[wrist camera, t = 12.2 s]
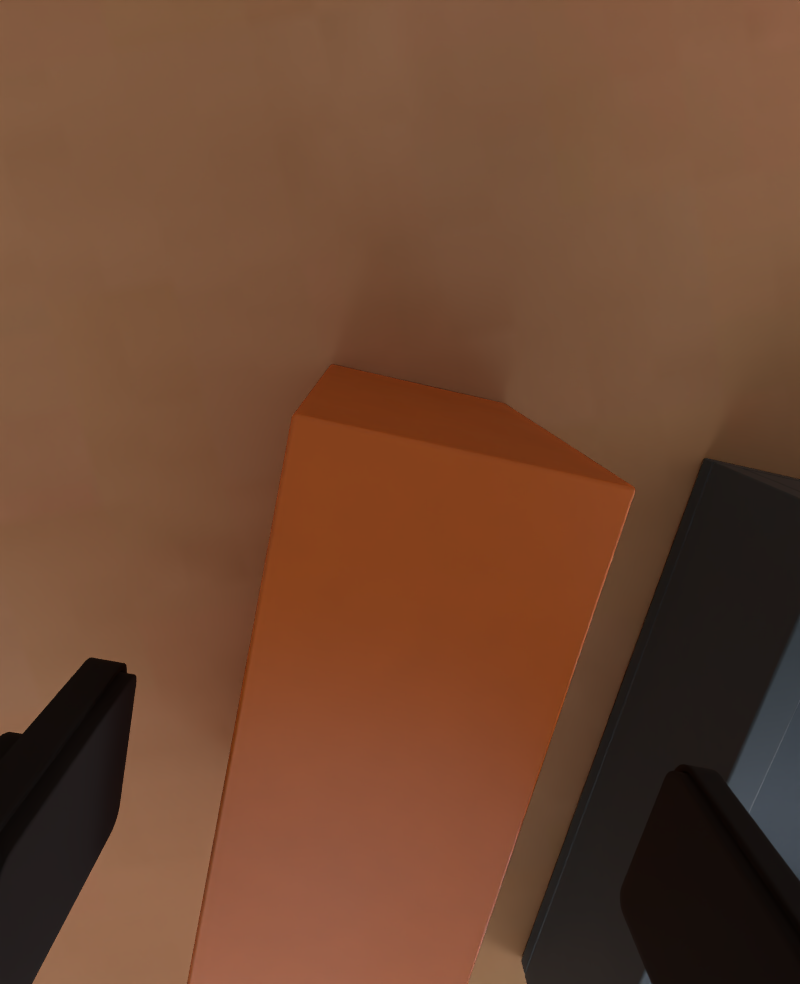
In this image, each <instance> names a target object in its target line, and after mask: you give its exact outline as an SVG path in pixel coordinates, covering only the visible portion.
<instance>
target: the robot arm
mask: <svg viewBox="0 0 800 984" xmlns="http://www.w3.org/2000/svg"><path fill="white" fill-rule="evenodd" d="M135 688H136V675H134V674H128V673H127V667H126V664H125V663H119V662H114V661H108V660H103V659H97V658H89V659H87V660H86V661H85V662H84V664H83V665H82V666H81V667H80V668H79V669H78V670H77V672H76V673H75V674H74V675H73V676H72V677H71V679H70V680H69V681H68V682H67V683H66V684H65V686H64V687H63V688H62V689H61V690H60V691H59V692H58V694H57V695H56V696H55V697H54V698H53V699H52V701H51V702H50V703H49V704H48V705H47V706H46V708H45V709H44V710H43V711H42V712H41V713H40V714H39V716H38V717H37V718H36V719H35V720H34V721H33V723H32V724H31V725H30V726H29V727H28V728H27V730H26V731H25V732H24V733H23V734H19V733H13V732H7V733H5V734H2V735H1V736H0V984H32V983H33V981H34V979H35V977H36V975H37V973H38V971H39V969H40V967H41V965H42V963H43V962H44V960H45V958H46V956H47V954H48V952H49V950H50V948H51V946H52V944H53V942H54V941H55V939H56V937H57V935H58V933H59V931H60V929H61V927H62V925H63V923H64V922H65V920H66V918H67V916H68V914H69V912H70V910H71V908H72V906H73V904H74V902H75V901H76V899H77V897H78V895H79V893H80V891H81V889H82V887H83V885H84V883H85V881H86V880H87V878H88V876H89V874H90V872H91V870H92V868H93V866H94V864H95V862H96V860H97V859H98V857H99V855H100V853H101V851H102V849H103V847H104V845H105V843H106V841H107V839H108V838H109V836H110V834H111V832H112V829H113V827H114V824H115V822H116V818H117V815H118V811H119V806H120V799H121V792H122V784H123V777H124V770H125V762H126V755H127V747H128V740H129V733H130V725H131V718H132V710H133V703H134V696H135ZM620 905H621V910H622V913H623V916H624V918H625V921H626V923H627V926H628V928H629V930H630V933H631V935H632V938H633V940H634V943H635V945H636V947H637V950H638V952H639V955H640V957H641V960H642V962H643V964H644V967H645V969H646V972H647V974H648V977H649V979H650V982H651V984H800V881H799V879H798V878H797V877H796V875H795V874H794V873H793V871H792V870H791V869H790V867H789V866H788V865H787V863H786V862H785V861H784V859H783V858H782V857H781V855H780V854H779V853H778V851H777V850H776V849H775V847H774V846H773V845H772V843H771V842H770V841H769V839H768V838H767V837H766V835H765V834H764V833H763V831H762V830H761V829H760V827H759V826H758V825H757V823H756V822H755V821H754V819H753V818H752V817H751V815H750V814H749V813H748V811H747V810H746V809H745V807H744V806H743V805H742V803H741V802H740V801H739V799H738V798H737V797H736V795H735V794H734V793H733V791H732V790H731V789H730V787H729V786H728V785H727V783H726V782H725V781H724V779H723V778H722V777H721V775H720V774H719V773H718V772H717V771H715V770H713V769H708V768H703V767H697V766H692V765H686V764H681V765H679V766H678V767H676V769H675V770H674V771H669V772H668V773H667V774H666V776H665V778H664V781H663V783H662V786H661V788H660V791H659V793H658V796H657V798H656V801H655V803H654V806H653V808H652V811H651V813H650V816H649V818H648V821H647V823H646V826H645V828H644V831H643V833H642V836H641V838H640V841H639V843H638V846H637V848H636V851H635V853H634V856H633V858H632V861H631V864H630V866H629V869H628V871H627V874H626V876H625V879H624V881H623V884H622V886H621V890H620Z"/></svg>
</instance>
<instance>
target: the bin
mask: <svg viewBox="0 0 800 984" xmlns="http://www.w3.org/2000/svg"><path fill="white" fill-rule="evenodd" d="M681 764H686V765H692V766H697V767H703V768H708V769H713V770H715V771H717V772H718V773H719V774H720V775H721V777H722V778H723V779H724V781H725V782H726V783H727V785H728V786H729V787H730V789H731V790H732V791H733V793H734V794H735V795H736V797H737V798H738V799H739V801H740V802H741V803H742V805H743V806H744V807H745V809H746V810H747V811H748V813H749V814H750V815H751V817H752V818H753V819H754V821H755V822H756V823H757V825H758V826H759V827H760V829H761V830H762V831H763V833H764V834H765V835H766V837H767V838H768V839H769V841H770V842H771V843H772V845H773V846H774V847H775V849H776V850H777V851H778V853H779V854H780V855H781V857H782V858H783V859H784V861H785V862H786V863H787V865H788V866H789V867H790V869H791V870H792V871H793V873H794V874H795V875H796V877H797V878H798V879H799V881H800V479H796V478H792V477H788V476H783V475H779V474H774V473H770V472H765V471H761V470H757V469H752V468H748V467H743V466H739V465H734V464H730V463H726V462H721V461H717V460H712V459H708V458H706V459H704V460H703V463H702V466H701V469H700V471H699V474H698V477H697V479H696V482H695V485H694V488H693V490H692V493H691V496H690V499H689V501H688V504H687V507H686V510H685V512H684V515H683V518H682V521H681V523H680V526H679V529H678V532H677V534H676V537H675V540H674V543H673V545H672V548H671V551H670V554H669V556H668V559H667V562H666V565H665V567H664V570H663V573H662V575H661V578H660V581H659V584H658V586H657V589H656V592H655V595H654V597H653V600H652V603H651V606H650V608H649V611H648V614H647V617H646V619H645V622H644V625H643V628H642V630H641V633H640V636H639V639H638V641H637V644H636V647H635V650H634V652H633V655H632V658H631V661H630V663H629V666H628V669H627V671H626V674H625V677H624V680H623V682H622V685H621V688H620V691H619V693H618V696H617V699H616V702H615V704H614V707H613V710H612V713H611V715H610V718H609V721H608V724H607V726H606V729H605V732H604V735H603V737H602V740H601V743H600V746H599V748H598V751H597V754H596V757H595V759H594V762H593V765H592V767H591V770H590V773H589V776H588V778H587V781H586V784H585V787H584V789H583V792H582V795H581V798H580V800H579V803H578V806H577V809H576V811H575V814H574V817H573V820H572V822H571V825H570V828H569V831H568V833H567V836H566V839H565V842H564V844H563V847H562V850H561V853H560V855H559V858H558V861H557V863H556V866H555V869H554V872H553V874H552V877H551V880H550V883H549V885H548V888H547V891H546V894H545V896H544V899H543V902H542V905H541V907H540V910H539V913H538V916H537V918H536V921H535V924H534V927H533V929H532V932H531V935H530V938H529V940H528V943H527V946H526V949H525V951H524V954H523V957H522V965H523V969H524V973H525V978H526V982H527V984H651V982H650V979H649V977H648V974H647V972H646V969H645V967H644V964H643V962H642V960H641V957H640V955H639V952H638V950H637V947H636V945H635V943H634V940H633V938H632V935H631V933H630V930H629V928H628V926H627V923H626V921H625V918H624V916H623V913H622V910H621V905H620V890H621V886H622V884H623V881H624V879H625V876H626V874H627V871H628V869H629V866H630V864H631V861H632V858H633V856H634V853H635V851H636V848H637V846H638V843H639V841H640V838H641V836H642V833H643V831H644V828H645V826H646V823H647V821H648V818H649V816H650V813H651V811H652V808H653V806H654V803H655V801H656V798H657V796H658V793H659V791H660V788H661V786H662V783H663V781H664V778H665V776H666V774H667V773H668V772H669V771H674V770H675V769H676V767H678V766H679V765H681Z"/></svg>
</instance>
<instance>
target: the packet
mask: <svg viewBox="0 0 800 984" xmlns="http://www.w3.org/2000/svg"><path fill="white" fill-rule="evenodd" d="M634 494H635V488H634V487H633V486H632V485H630V484H629V483H627V482H625V481H624V480H622V479H621V478H619V477H618V476H616V475H615V474H613V473H612V472H610V471H608V470H607V469H605V468H604V467H602V466H601V465H599V464H598V463H596V462H595V461H593V460H591V459H590V458H588V457H587V456H585V455H584V454H582V453H581V452H579V451H578V450H576V449H574V448H573V447H571V446H570V445H568V444H567V443H565V442H564V441H562V440H560V439H559V438H557V437H556V436H554V435H553V434H551V433H550V432H548V431H547V430H545V429H543V428H542V427H540V426H539V425H537V424H536V423H534V422H533V421H531V420H530V419H528V418H526V417H525V416H523V415H522V414H520V413H519V412H517V411H516V410H514V409H513V408H511V407H509V406H508V405H506V404H505V403H501V402H497V401H492V400H488V399H484V398H479V397H475V396H470V395H466V394H462V393H457V392H453V391H448V390H444V389H440V388H435V387H431V386H426V385H422V384H418V383H413V382H409V381H404V380H400V379H396V378H391V377H387V376H383V375H378V374H374V373H369V372H365V371H361V370H356V369H352V368H347V367H343V366H339V365H334V364H331V365H330V366H329V368H328V369H327V370H326V372H325V373H324V374H323V376H322V377H321V378H320V380H319V381H318V382H317V384H316V385H315V386H314V388H313V389H312V390H311V392H310V393H309V394H308V396H307V397H306V398H305V400H304V401H303V402H302V404H301V405H300V406H299V408H298V409H297V410H296V412H295V413H294V414H293V416H292V418H291V424H290V429H289V434H288V440H287V445H286V451H285V456H284V462H283V467H282V472H281V478H280V483H279V489H278V494H277V500H276V505H275V510H274V516H273V521H272V527H271V532H270V537H269V543H268V548H267V554H266V559H265V565H264V570H263V575H262V581H261V586H260V592H259V597H258V602H257V608H256V613H255V619H254V624H253V630H252V635H251V640H250V646H249V651H248V657H247V662H246V667H245V673H244V678H243V684H242V689H241V695H240V700H239V705H238V711H237V716H236V722H235V727H234V733H233V738H232V743H231V749H230V754H229V760H228V765H227V770H226V776H225V781H224V787H223V792H222V798H221V803H220V808H219V814H218V819H217V825H216V830H215V835H214V841H213V846H212V852H211V857H210V863H209V868H208V873H207V879H206V884H205V890H204V895H203V901H202V906H201V911H200V917H199V922H198V928H197V933H196V938H195V944H194V949H193V955H192V960H191V966H190V971H189V976H188V982H187V984H468V982H469V979H470V976H471V973H472V970H473V967H474V965H475V962H476V959H477V956H478V953H479V950H480V947H481V944H482V941H483V938H484V935H485V932H486V929H487V926H488V923H489V920H490V918H491V915H492V912H493V909H494V906H495V903H496V900H497V897H498V894H499V891H500V888H501V885H502V882H503V879H504V876H505V873H506V870H507V868H508V865H509V862H510V859H511V856H512V853H513V850H514V847H515V844H516V841H517V838H518V835H519V832H520V829H521V826H522V823H523V821H524V818H525V815H526V812H527V809H528V806H529V803H530V800H531V797H532V794H533V791H534V788H535V785H536V782H537V779H538V776H539V774H540V771H541V768H542V765H543V762H544V759H545V756H546V753H547V750H548V747H549V744H550V741H551V738H552V735H553V732H554V729H555V726H556V724H557V721H558V718H559V715H560V712H561V709H562V706H563V703H564V700H565V697H566V694H567V691H568V688H569V685H570V682H571V679H572V677H573V674H574V671H575V668H576V665H577V662H578V659H579V656H580V653H581V650H582V647H583V644H584V641H585V638H586V635H587V632H588V629H589V627H590V624H591V621H592V618H593V615H594V612H595V609H596V606H597V603H598V600H599V597H600V594H601V591H602V588H603V585H604V582H605V580H606V577H607V574H608V571H609V568H610V565H611V562H612V559H613V556H614V553H615V550H616V547H617V544H618V541H619V538H620V535H621V533H622V530H623V527H624V524H625V521H626V518H627V515H628V512H629V509H630V506H631V503H632V500H633V497H634Z"/></svg>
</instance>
